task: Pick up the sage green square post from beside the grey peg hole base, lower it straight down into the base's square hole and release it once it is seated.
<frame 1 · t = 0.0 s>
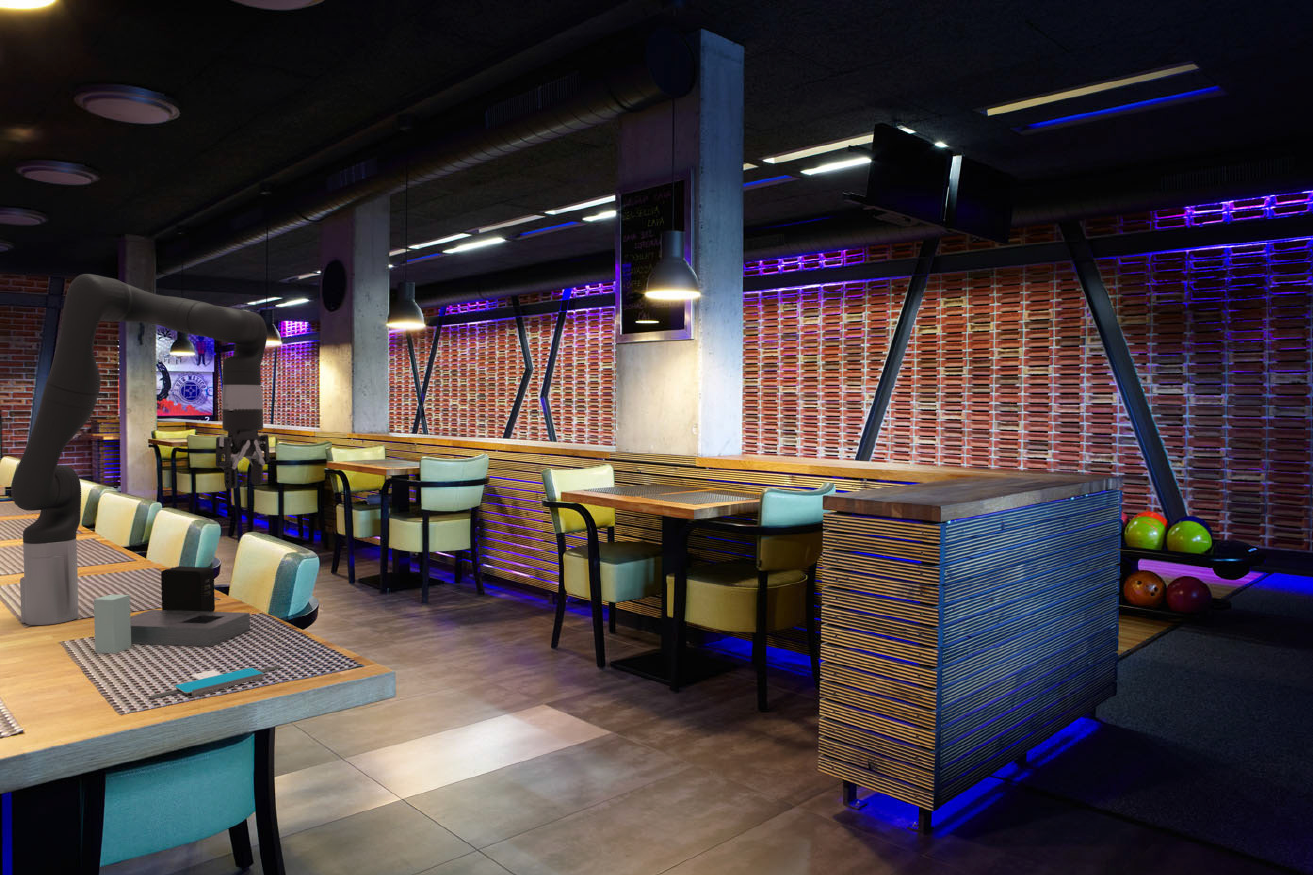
hand: (244, 486, 169), 29 cm above the table, fingers open, 8 cm apart
sage green square post: (113, 649, 154), on the table
electronic device: (188, 614, 182), on the table
grey peg hole base: (180, 636, 164), on the table
teal bar with rods: (216, 685, 137), on the table
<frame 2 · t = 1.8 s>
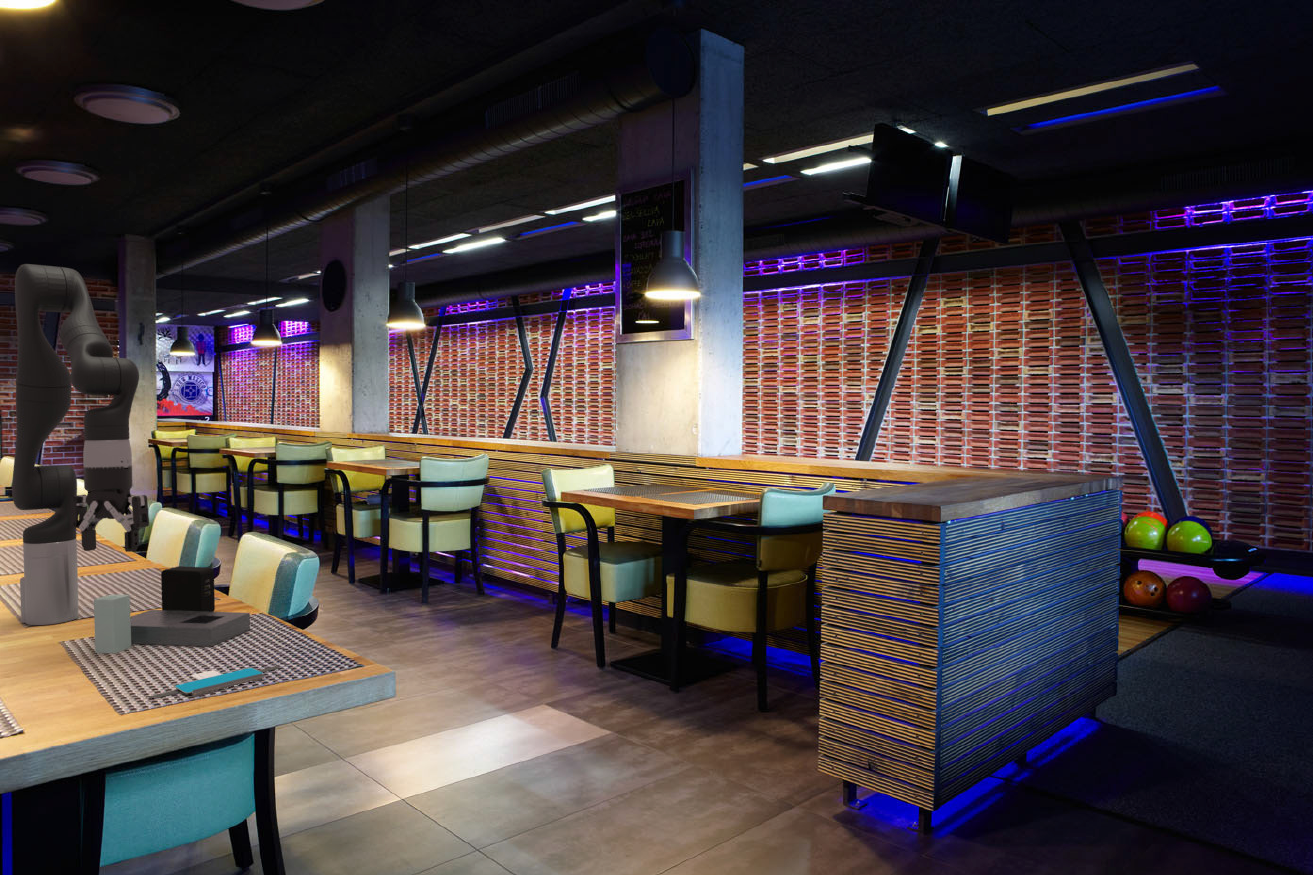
hand: (110, 550, 154), 19 cm above the table, fingers open, 8 cm apart
nothing on the table moved.
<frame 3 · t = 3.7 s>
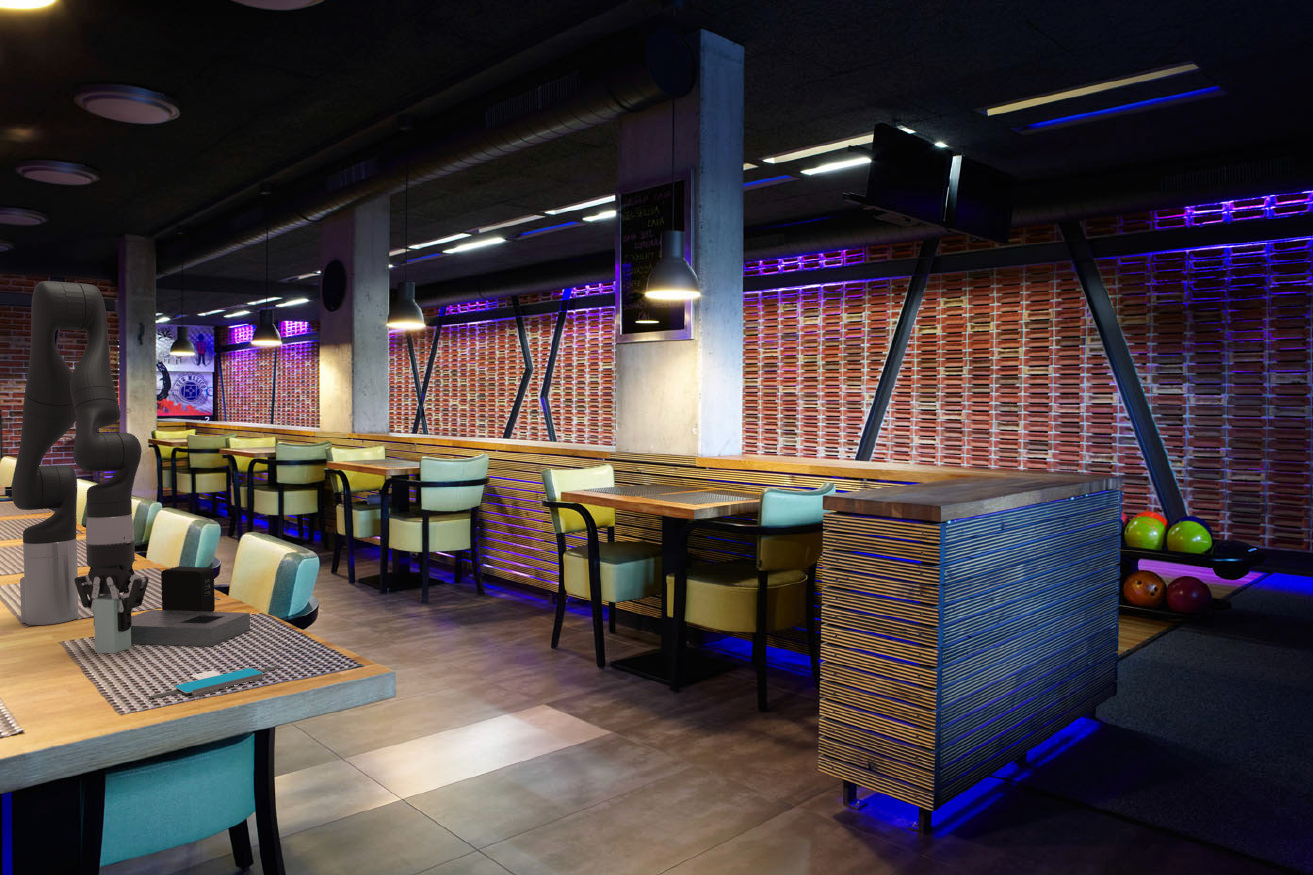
hand: (113, 629, 154), 4 cm above the table, fingers closed on sage green square post, 4 cm apart
sage green square post: (113, 649, 154), on the table, touching gripper
everything else where it was.
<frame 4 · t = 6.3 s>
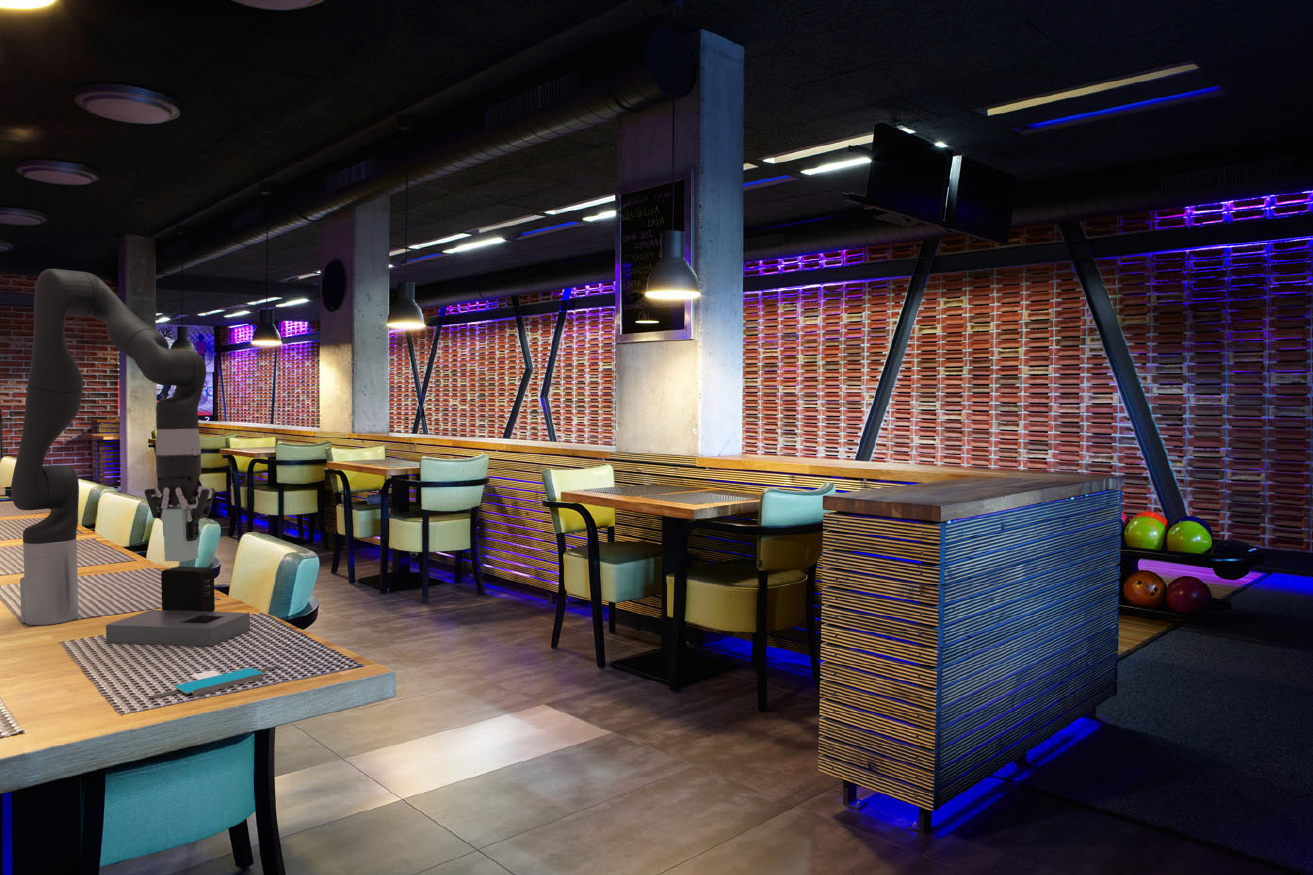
hand: (181, 540, 160), 20 cm above the table, fingers closed on sage green square post, 4 cm apart
sage green square post: (181, 559, 160), point 16 cm above the table, touching gripper
everything else where it was.
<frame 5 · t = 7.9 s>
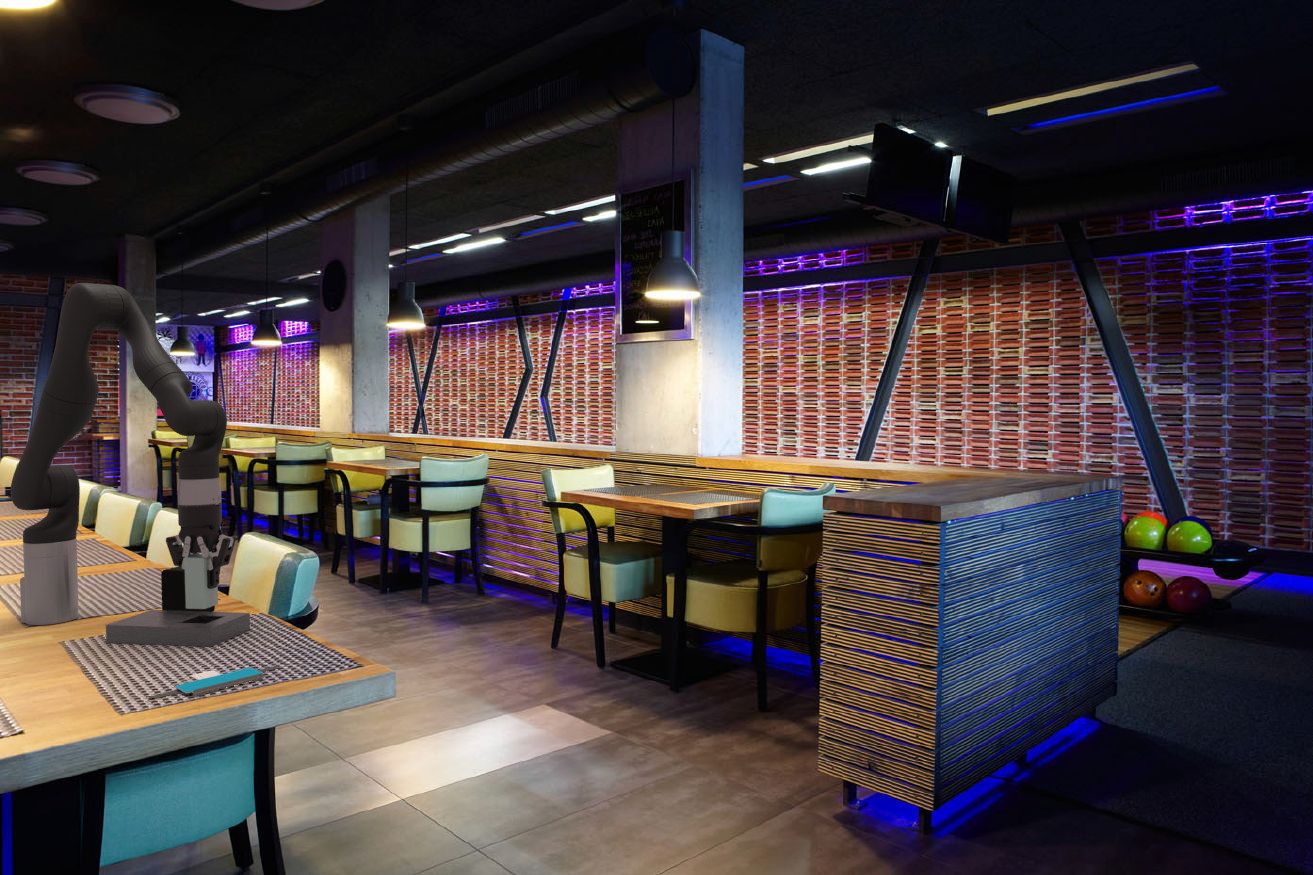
hand: (201, 587, 163), 10 cm above the table, fingers closed on sage green square post, 4 cm apart
sage green square post: (202, 606, 163), point 6 cm above the table, touching gripper
everything else where it was.
when the fingers open (5 cm above the table, at t = 9.3 s): sage green square post stays where it is, resting in grey peg hole base.
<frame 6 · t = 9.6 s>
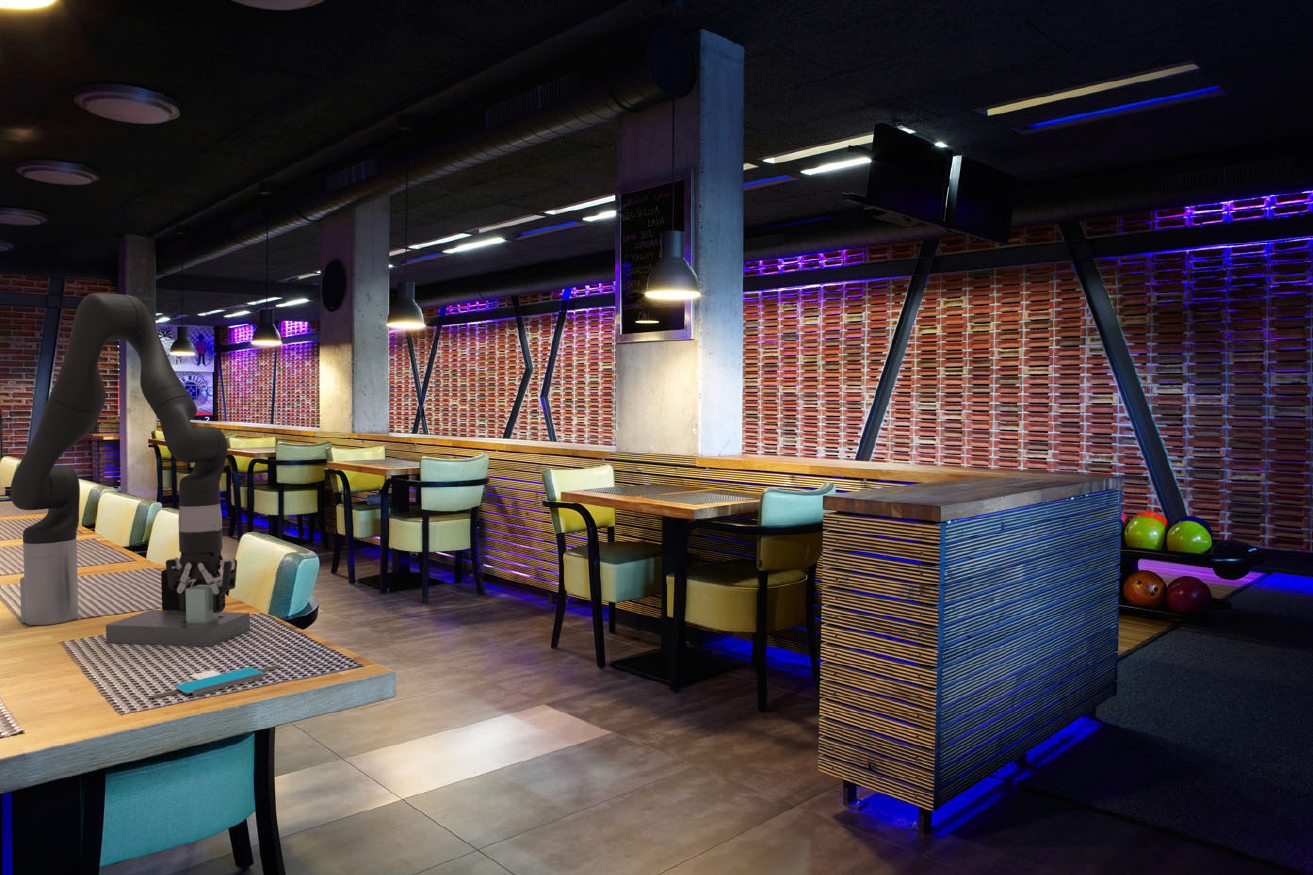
hand: (202, 611, 163), 5 cm above the table, fingers open, 6 cm apart
sage green square post: (202, 637, 163), resting in grey peg hole base
everything else where it was.
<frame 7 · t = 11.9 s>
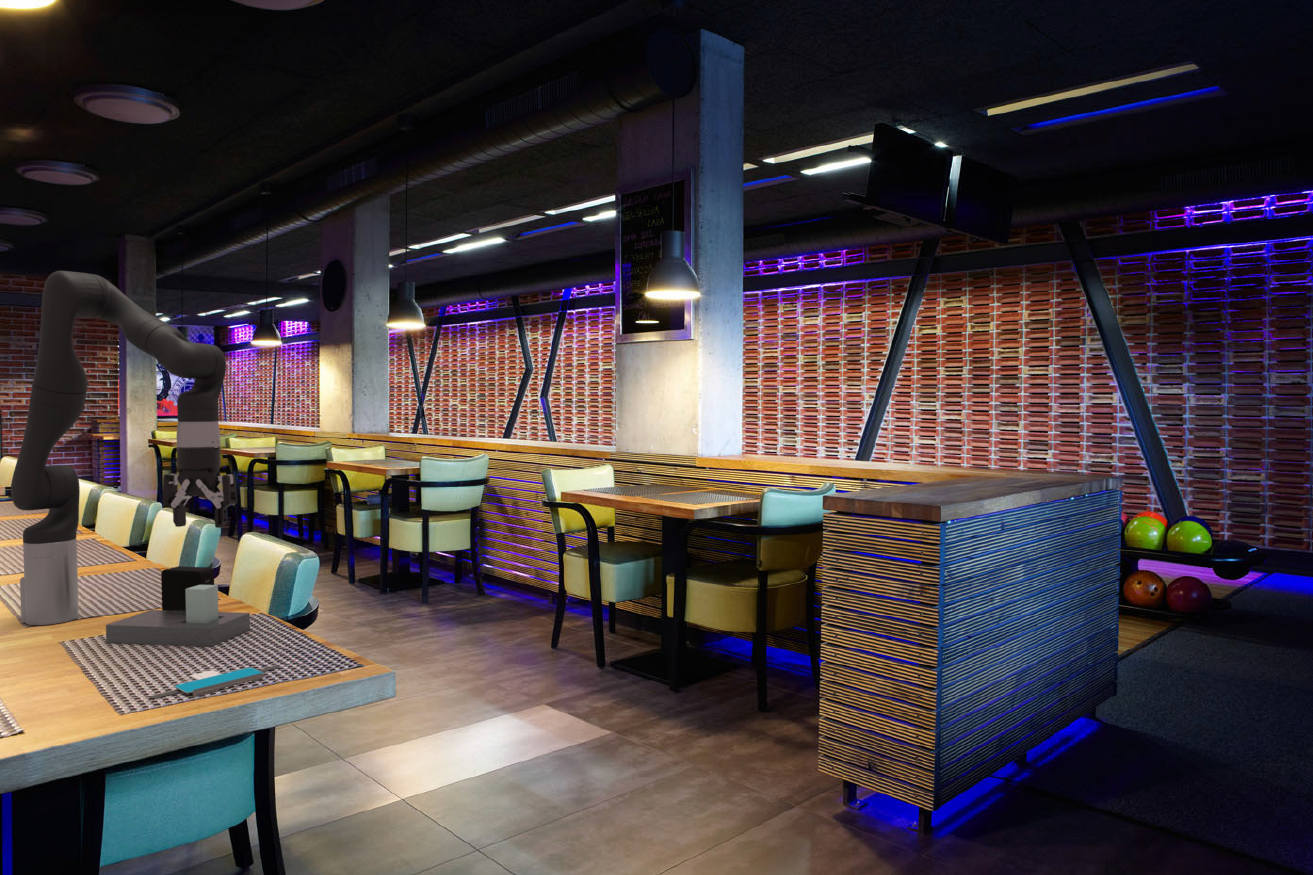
hand: (200, 526, 162), 22 cm above the table, fingers open, 8 cm apart
nothing on the table moved.
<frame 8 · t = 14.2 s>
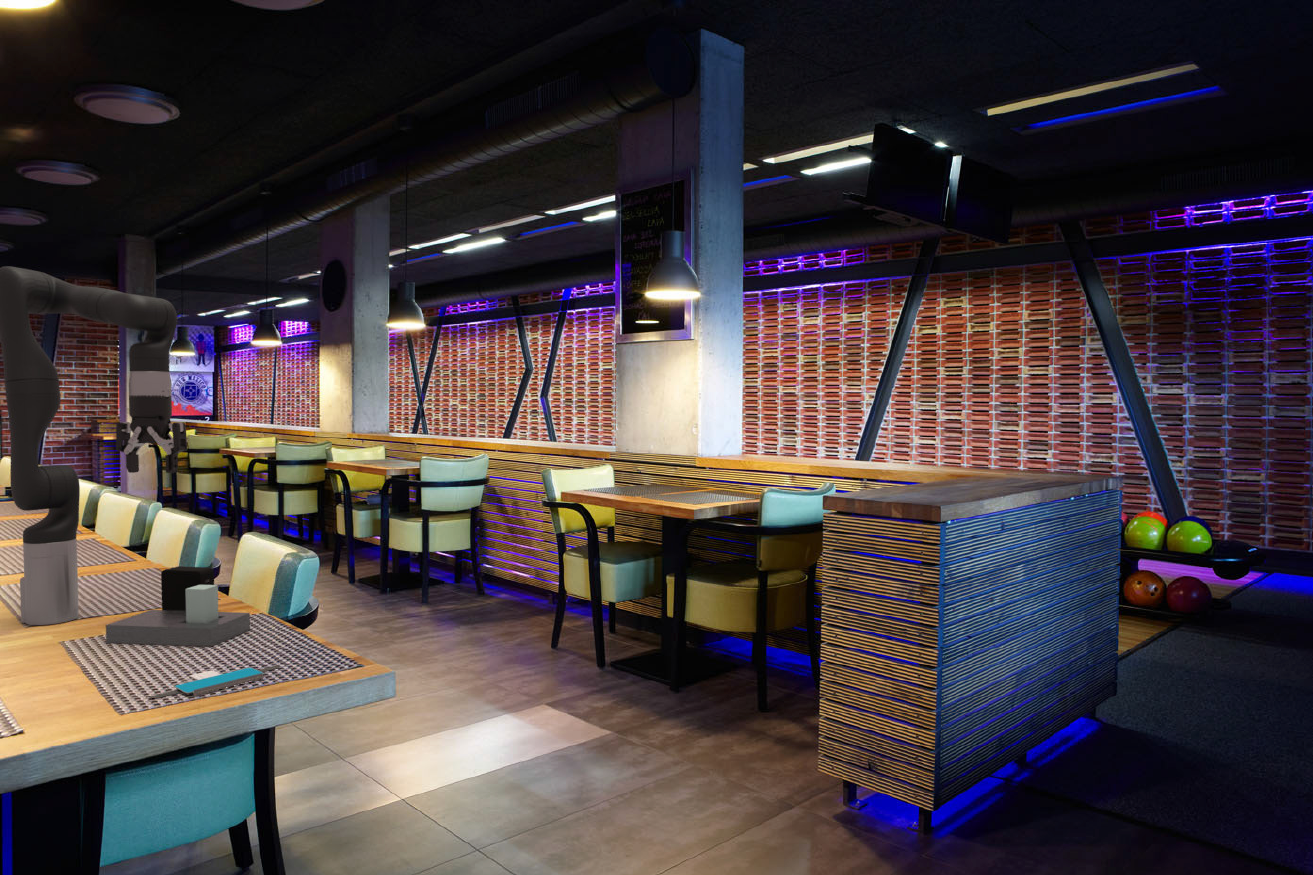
hand: (152, 472, 170), 32 cm above the table, fingers open, 8 cm apart
nothing on the table moved.
at the end: sage green square post 0.1 cm from the target spot on the grey peg hole base, point 0.0 cm above the grey peg hole base's base; sage green square post tilted 0°; the gripper is holding nothing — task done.
